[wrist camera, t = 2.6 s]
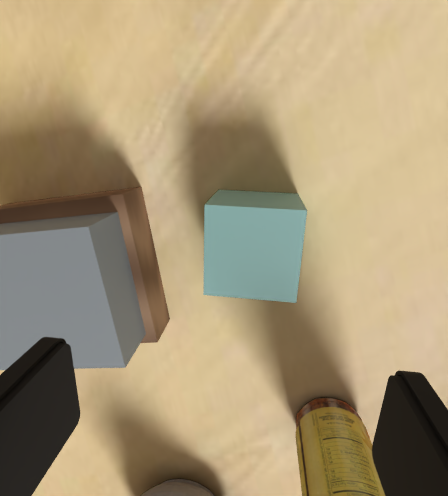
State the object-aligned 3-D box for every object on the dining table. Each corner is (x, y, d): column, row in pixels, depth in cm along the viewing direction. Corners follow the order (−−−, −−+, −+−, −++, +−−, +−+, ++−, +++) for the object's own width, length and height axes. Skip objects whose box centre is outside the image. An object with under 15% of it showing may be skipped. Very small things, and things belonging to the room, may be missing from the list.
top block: (-6, 224, 24) (-57, 240, 20) (117, 211, 23) (88, 226, 19) (34, 338, 27) (-3, 370, 23) (145, 333, 26) (125, 367, 22)
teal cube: (218, 189, 25) (204, 204, 19) (297, 193, 24) (306, 210, 18) (217, 261, 27) (203, 294, 21) (289, 267, 26) (296, 302, 20)
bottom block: (13, 202, 28) (-26, 212, 24) (143, 185, 26) (122, 194, 22) (54, 322, 32) (25, 347, 28) (171, 316, 30) (157, 342, 26)
